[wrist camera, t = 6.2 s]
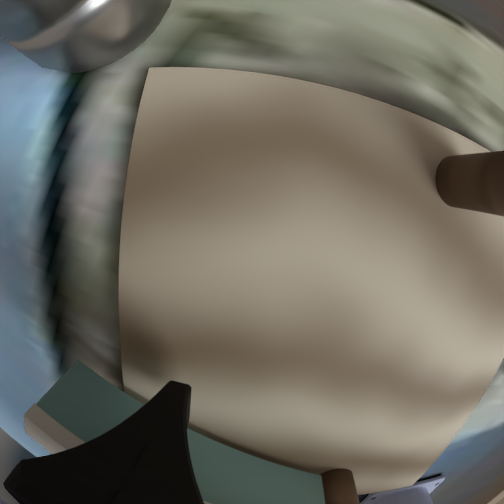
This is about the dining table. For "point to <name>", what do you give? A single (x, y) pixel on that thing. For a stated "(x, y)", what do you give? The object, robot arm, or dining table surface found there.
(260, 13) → the dining table surface
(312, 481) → the gate
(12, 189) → the dining table surface
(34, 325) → the dining table surface
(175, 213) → the gate frame
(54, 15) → the plastic bottle
